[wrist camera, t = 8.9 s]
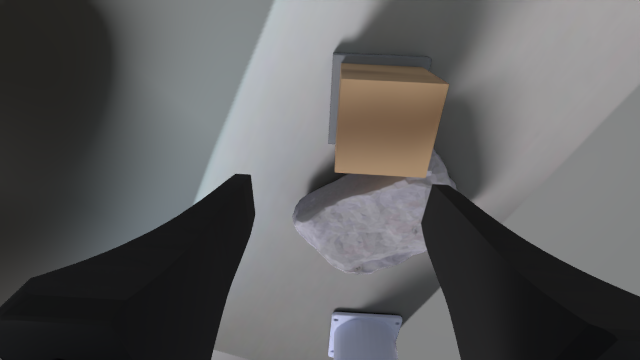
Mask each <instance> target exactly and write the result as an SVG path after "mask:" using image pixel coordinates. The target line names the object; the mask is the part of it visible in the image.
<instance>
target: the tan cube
mask: <svg viewBox="0 0 640 360" xmlns="http://www.w3.org/2000/svg"><path fill="white" fill-rule="evenodd" d="M448 87H449V84H448V83H446V82H445V81H443V80H442V79H440V78H439V77H437V76H436V75H434V74H432V73H431V72H429V71H428V70H426V69H425V68H423V67H411V66H390V65H370V64H349V63H341V69H340V84H339V98H338V113H337V127H336V145H335V172H337V173H353V174H369V175H386V176H402V177H418V178H426V174H427V170H428V166H429V162H430V158H431V154H432V150H433V146H434V142H435V138H436V134H437V130H438V126H439V122H440V118H441V114H442V111H443V107H444V103H445V99H446V95H447V91H448Z"/></svg>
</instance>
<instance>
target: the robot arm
mask: <svg viewBox="0 0 640 360" xmlns="http://www.w3.org/2000/svg"><path fill="white" fill-rule="evenodd" d="M254 218H255V208H254V199H253V190H252V181H251V175H248V174H235V175H233V176H232V177H231V178H229V179H228V180H227V181H225V182H224V183H223V184H221V185H220V186H219V187H218V188H216V189H215V190H214V191H212V192H211V193H210V194H208V195H207V196H206V197H204V198H203V199H202V200H200V201H199V202H197V203H196V204H195V205H193V206H192V207H190V208H189V209H187V210H186V211H184V212H183V213H181V214H180V215H178V216H177V217H175V218H173V219H172V220H170V221H168V222H167V223H165V224H163V225H161V226H160V227H158V228H156V229H154V230H152V231H150V232H148V233H146V234H144V235H142V236H140V237H138V238H136V239H134V240H132V241H129V242H127V243H125V244H123V245H121V246H119V247H116V248H114V249H112V250H109V251H107V252H105V253H102V254H99V255H97V256H94V257H92V258H89V259H87V260H84V261H81V262H78V263H76V264H73V265H70V266H67V267H64V268H61V269H58V270H55V271H52V272H49V273H46V274H43V275H40V276H36V277H33V278H30V279H29V280H28V281H27V282H26V283H25V284H24V285H23V286H22V287H21V288H20V289H19V290H18V291H16V293H14V294H13V295H12V296H11V297H10V298H9V299H8V300H7V301H6V302H5V303H4V304H3V305H2V306H1V307H0V358H1V359H2V360H211V357H212V353H213V349H214V345H215V341H216V337H217V333H218V329H219V325H220V321H221V317H222V314H223V310H224V307H225V303H226V299H227V296H228V293H229V290H230V287H231V284H232V281H233V279H234V276H235V274H236V271H237V269H238V266H239V263H240V261H241V258H242V256H243V253H244V251H245V248H246V246H247V243H248V240H249V238H250V235H251V231H252V227H253V222H254ZM421 227H422V232H423V237H424V241H425V245H426V248H427V251H428V254H429V256H430V259H431V262H432V264H433V267H434V270H435V272H436V275H437V278H438V280H439V283H440V286H441V288H442V291H443V293H444V296H445V299H446V302H447V305H448V309H449V312H450V316H451V320H452V324H453V328H454V332H455V335H456V340H457V344H458V348H459V353H460V357H461V360H640V297H639V296H637V295H634V294H632V293H630V292H627V291H625V290H623V289H620V288H618V287H616V286H613V285H611V284H609V283H606V282H604V281H602V280H600V279H598V278H596V277H594V276H591V275H589V274H587V273H585V272H583V271H581V270H579V269H577V268H575V267H573V266H571V265H569V264H567V263H565V262H563V261H561V260H559V259H558V258H556V257H554V256H552V255H550V254H548V253H546V252H545V251H543V250H541V249H540V248H538V247H536V246H535V245H533V244H531V243H529V242H528V241H526V240H525V239H523V238H521V237H520V236H518V235H517V234H515V233H514V232H512V231H511V230H509V229H508V228H506V227H505V226H503V225H502V224H501V223H499V222H498V221H496V220H495V219H494V218H492V217H491V216H489V215H488V214H487V213H485V212H484V211H483V210H481V209H480V208H479V207H478V206H476V205H475V204H474V203H472V202H471V201H470V200H468V199H467V198H466V197H465V196H463V195H462V194H461V193H459V192H458V191H457V190H455V189H454V188H452V187H451V186H449V185H443V184H432V187H431V191H430V194H429V197H428V201H427V204H426V208H425V211H424V214H423V218H422V221H421ZM401 324H402V317H401V316H398V315H381V314H364V313H347V312H334V313H332V320H331V330H330V341H329V351H328V355H329V356H330V357H334V360H398V354H397V348H396V343H395V342H396V339H397V336H398V333H399V330H400V327H401Z"/></svg>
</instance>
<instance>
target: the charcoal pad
mask: <svg viewBox="0 0 640 360" xmlns="http://www.w3.org/2000/svg"><path fill="white" fill-rule="evenodd" d="M431 61H432V59H431V58H429V57H419V56H396V55H373V54H351V53H333V67H332V85H331V104H330V122H329V140H328V144H336V127H337V113H338V98H339V84H340V69H341V63H349V64H370V65H390V66H411V67H423V68H425V69H426V70H428V71H429V70H430V66H431Z"/></svg>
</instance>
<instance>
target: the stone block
mask: <svg viewBox="0 0 640 360" xmlns="http://www.w3.org/2000/svg"><path fill="white" fill-rule="evenodd" d="M432 184H443V185H449V186H451V187H452V188H454V189H455V190H457V188H456V184H455V183H454V182H453V180H452V179H450V178H449V176H448V172H447V169H446V167H445V165H444V163H443V161H442V160H441V158H440V157H439V155H438V154H436V152H435V149H434V148H433V150H432V154H431V158H430V162H429V166H428V170H427V174H426V178H418V177H402V176H386V175H369V174H353V173H348V174H346V175H344V176H343V177H341V178H340V179H338V180H336V181H334V182H332V183H330V184H327V185H325V186H323V187H321V188H319V189H317V190H315V191H313V192H311V193H310V194H308V195H306V196H305V197H303V198H302V199H301V200H300V201H299V203H298V204H297V205H296V207H295V210H294V213H293V216H292V217H293V222H294V225H295V228H296V230H297V231H298V233H299V234H300V235H301V236H302V237H304V238H305V239H306V240H307V242H308V243H309V244H311V245H312V246H313V247H314V248H315V249H316V250H317V251H318V252H319V253H320V254H321V255H322V256H323V257H324V258H325V259H326V260H327V261H328V262H329V263H330V264H331V265H332V266H334V267H336V268H337V269H339V270H341V271H343V272H345V273H355V274H370V273H373V272H375V271H376V270H379V269H382V268H388V267H391V266H394V265H397V264H399V263H401V262H403V261H405V260H406V259H408V258H409V257H410V256H411V255H415V254H418V253H423V252H425V251H427V248H426V245H425V241H424V237H423V232H422V227H421V221H422V218H423V214H424V211H425V208H426V204H427V201H428V197H429V194H430V191H431V187H432Z"/></svg>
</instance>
